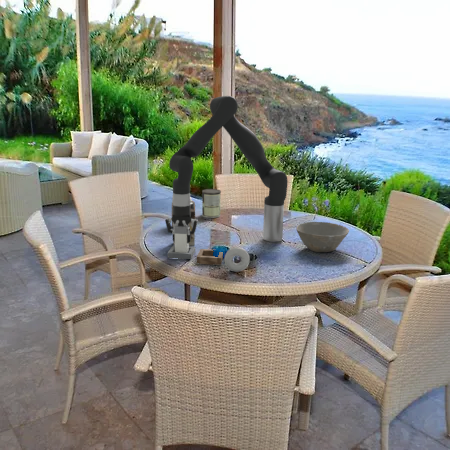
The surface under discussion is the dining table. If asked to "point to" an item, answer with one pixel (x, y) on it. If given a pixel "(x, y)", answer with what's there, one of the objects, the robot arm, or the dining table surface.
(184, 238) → the plug block
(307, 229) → the ceramic bowl
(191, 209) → the coffee box
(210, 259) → the walnut socket
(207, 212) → the coffee can
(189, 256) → the grey square frame
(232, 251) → the donut
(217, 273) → the dining table surface
